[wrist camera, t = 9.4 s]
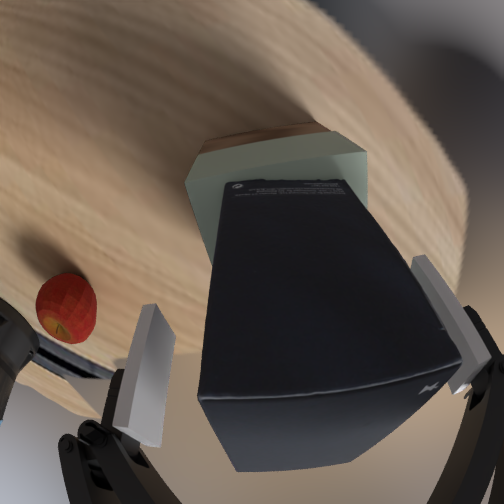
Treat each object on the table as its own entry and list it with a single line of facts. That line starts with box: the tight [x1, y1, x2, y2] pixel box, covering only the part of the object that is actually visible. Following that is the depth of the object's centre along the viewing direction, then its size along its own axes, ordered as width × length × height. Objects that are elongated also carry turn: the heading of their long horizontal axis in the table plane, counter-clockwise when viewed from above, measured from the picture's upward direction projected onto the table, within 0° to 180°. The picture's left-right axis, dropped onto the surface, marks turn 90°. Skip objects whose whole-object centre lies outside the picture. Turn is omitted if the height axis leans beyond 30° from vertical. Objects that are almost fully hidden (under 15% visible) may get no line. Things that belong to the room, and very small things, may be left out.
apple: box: [36, 273, 97, 344], centre depth 26 cm, size 8×8×8 cm
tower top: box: [184, 131, 367, 266], centre depth 18 cm, size 9×12×5 cm
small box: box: [197, 179, 463, 472], centre depth 12 cm, size 11×6×10 cm, turn 1°
